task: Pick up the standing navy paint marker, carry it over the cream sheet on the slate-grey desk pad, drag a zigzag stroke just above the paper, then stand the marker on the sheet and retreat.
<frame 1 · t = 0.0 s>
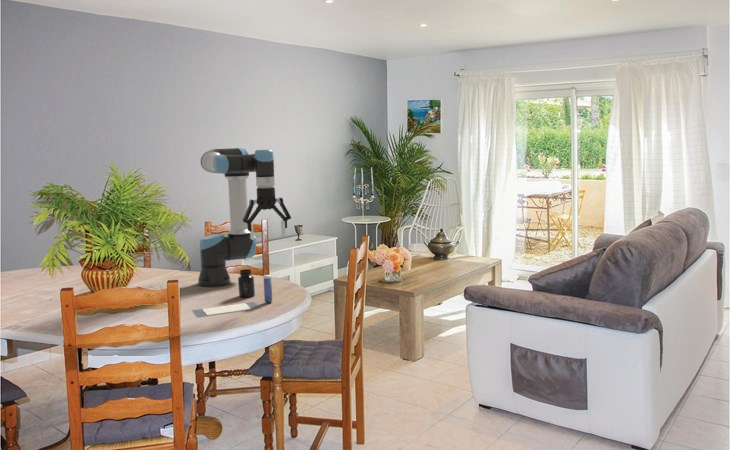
hand: (268, 237, 264), 28 cm above the table, fingers open, 13 cm apart
marker: (268, 303, 267), on the table
paper: (226, 309, 259), resting on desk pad
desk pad: (226, 310, 259), on the table
supplement bottle: (247, 297, 279), on the table
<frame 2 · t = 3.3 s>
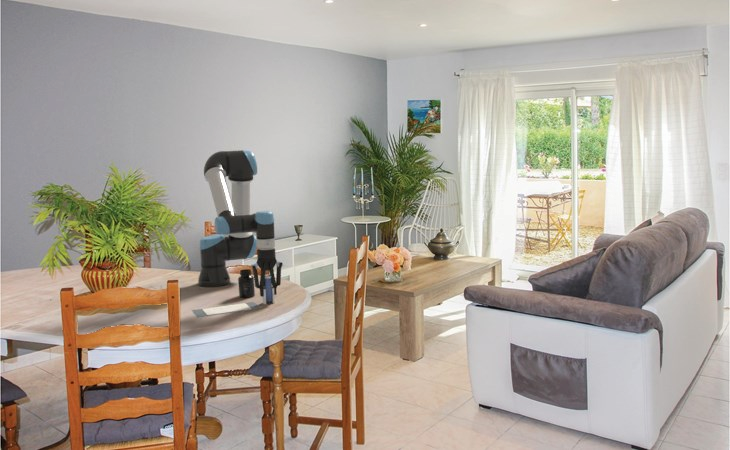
hand: (268, 302, 267), 0 cm above the table, fingers closed on marker, 3 cm apart
marker: (268, 303, 267), on the table, touching gripper
everything else where it was.
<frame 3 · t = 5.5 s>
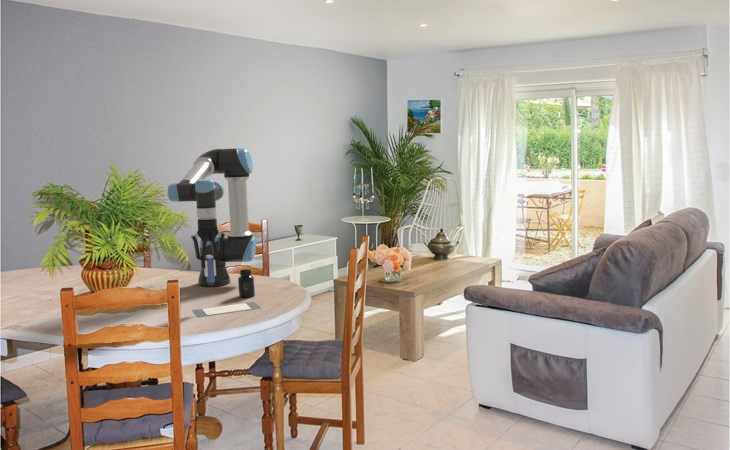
hand: (210, 275, 257), 15 cm above the table, fingers closed on marker, 3 cm apart
marker: (210, 284, 257), point 11 cm above the table, touching gripper
everything else where it was.
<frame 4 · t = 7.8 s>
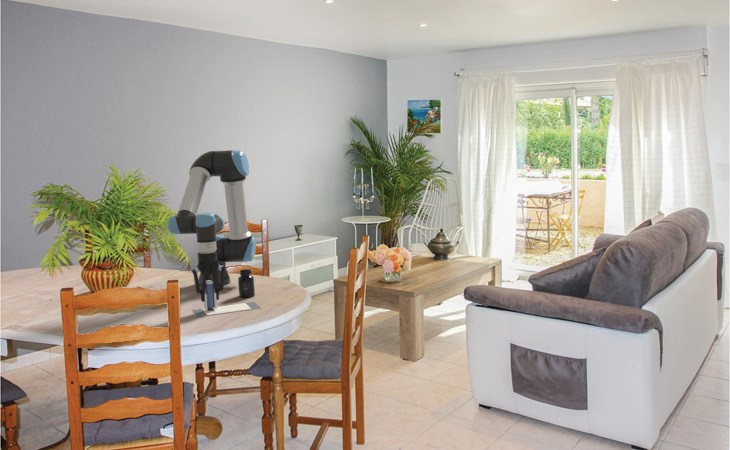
hand: (210, 308, 257), 1 cm above the table, fingers closed on marker, 3 cm apart
marker: (210, 309, 258), point 1 cm above the table, touching gripper
everything else where it was.
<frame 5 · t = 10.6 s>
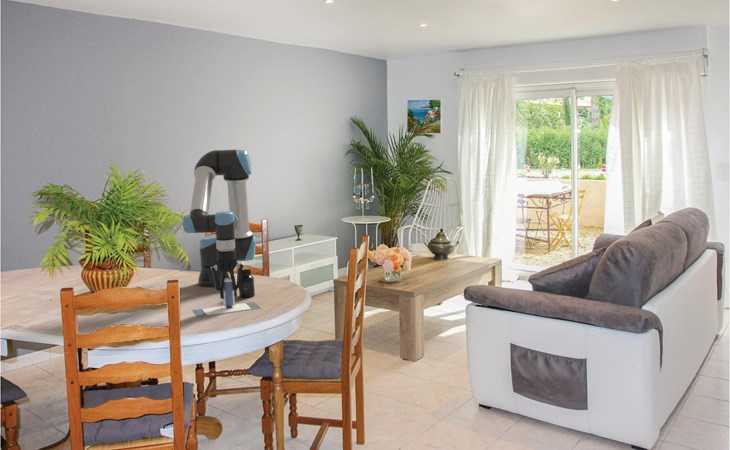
hand: (229, 305, 261), 1 cm above the table, fingers closed on marker, 3 cm apart
marker: (229, 307, 260), point 1 cm above the table, touching gripper
everything else where it was.
when the fingers open (1 cm above the table, at t = 12.4 s): marker stays where it is, resting on paper.
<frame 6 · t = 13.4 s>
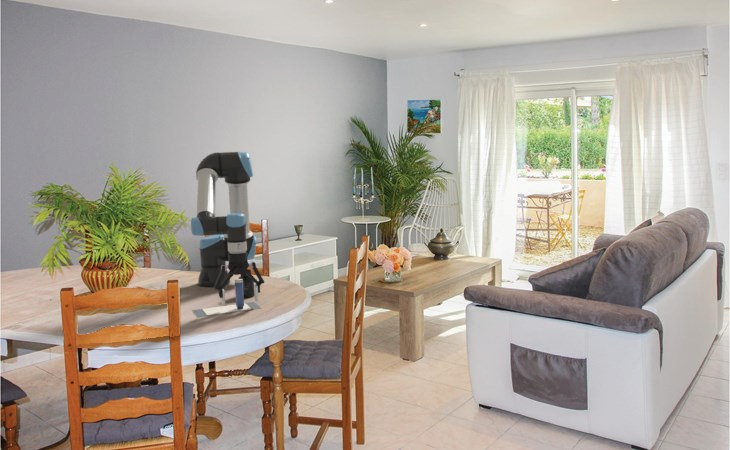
hand: (240, 303, 258), 3 cm above the table, fingers open, 13 cm apart
marker: (240, 308, 258), resting on paper
everything else where it was.
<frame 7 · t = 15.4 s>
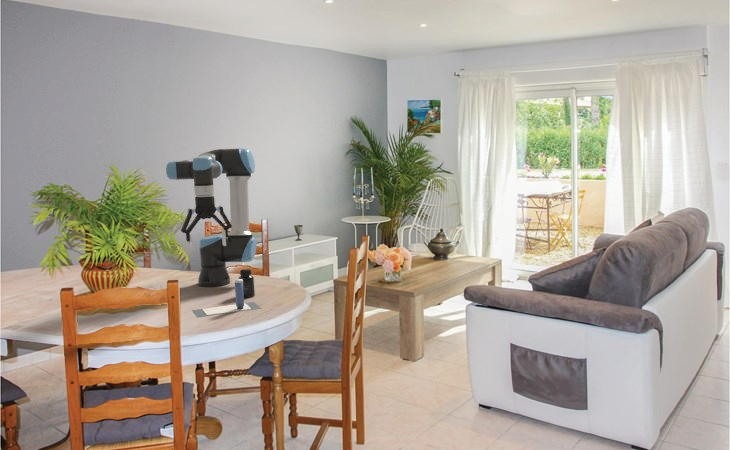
hand: (208, 247, 258), 26 cm above the table, fingers open, 13 cm apart
nothing on the table moved.
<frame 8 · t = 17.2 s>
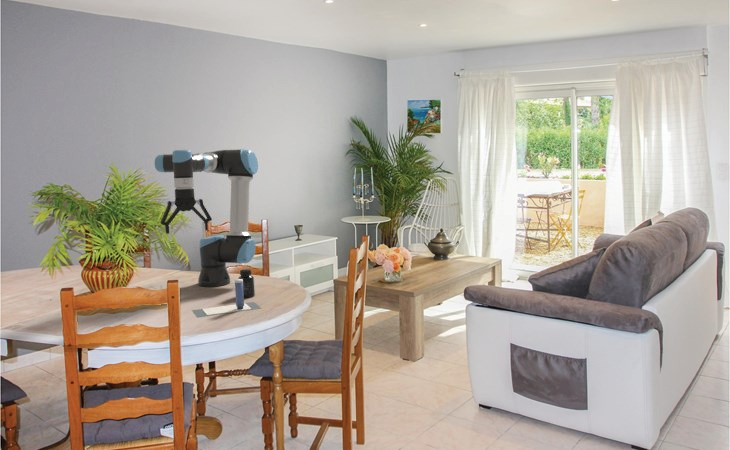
hand: (187, 239, 259), 29 cm above the table, fingers open, 13 cm apart
nothing on the table moved.
at the end: marker inside the target area (5.5 cm from its centre), point 0.5 cm above the table; marker tilted 0°; the gripper is holding nothing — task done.
